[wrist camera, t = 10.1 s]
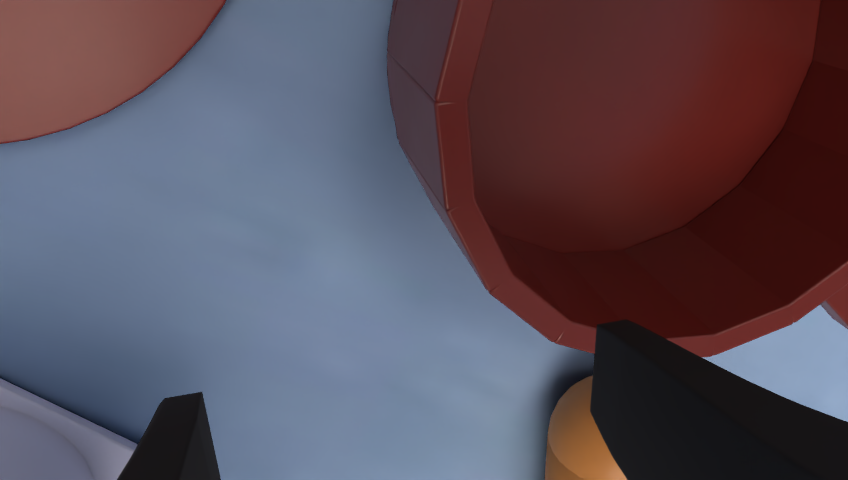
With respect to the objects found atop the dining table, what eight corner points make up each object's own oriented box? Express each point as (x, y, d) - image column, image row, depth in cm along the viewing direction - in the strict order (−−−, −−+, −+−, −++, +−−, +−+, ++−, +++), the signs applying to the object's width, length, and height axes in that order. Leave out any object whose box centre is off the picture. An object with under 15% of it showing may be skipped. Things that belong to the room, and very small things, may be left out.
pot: (638, 373, 26) (729, 481, 21) (191, 6, 18) (177, 50, 13) (936, 88, 24) (1111, 138, 19) (589, -493, 15) (751, -662, 11)
